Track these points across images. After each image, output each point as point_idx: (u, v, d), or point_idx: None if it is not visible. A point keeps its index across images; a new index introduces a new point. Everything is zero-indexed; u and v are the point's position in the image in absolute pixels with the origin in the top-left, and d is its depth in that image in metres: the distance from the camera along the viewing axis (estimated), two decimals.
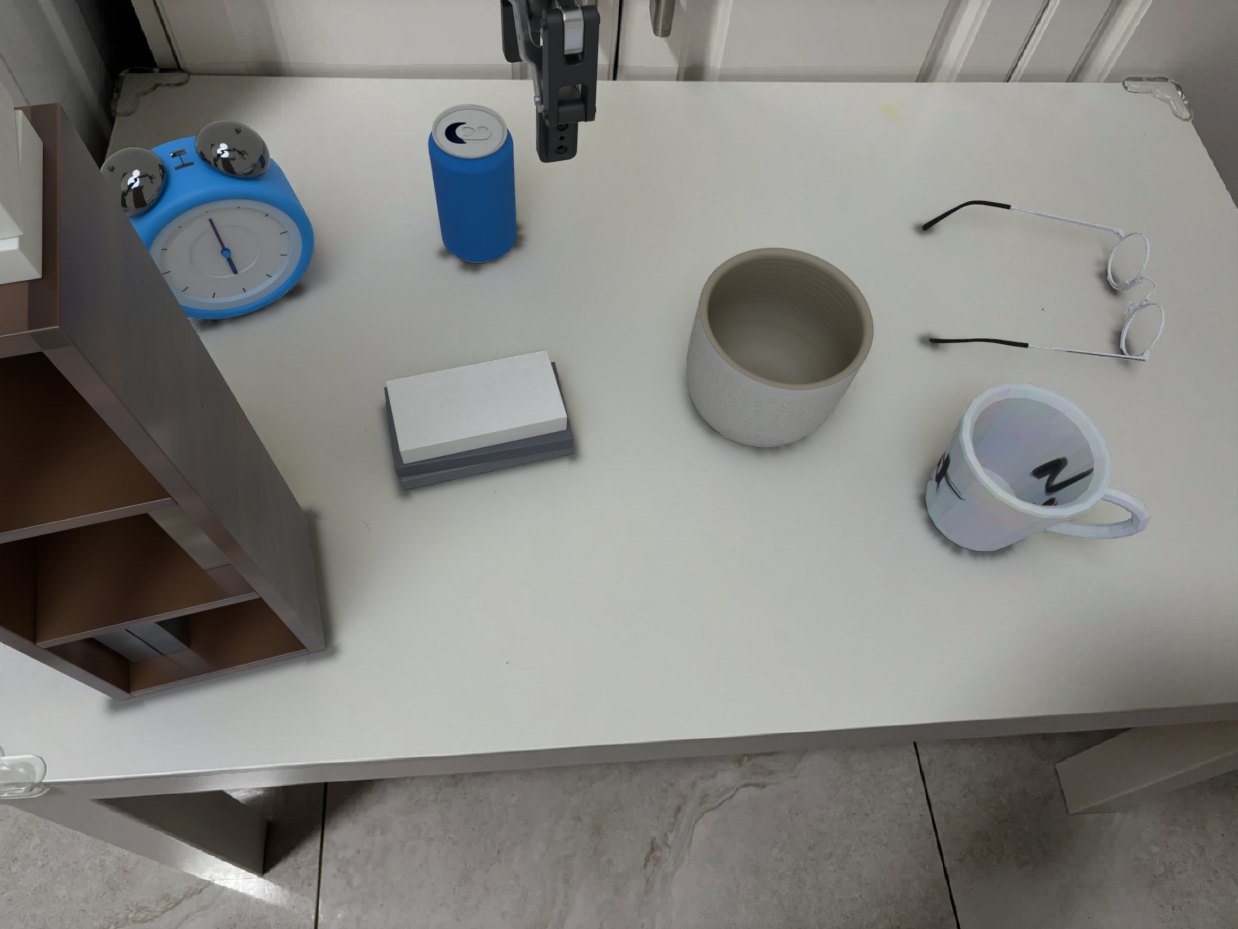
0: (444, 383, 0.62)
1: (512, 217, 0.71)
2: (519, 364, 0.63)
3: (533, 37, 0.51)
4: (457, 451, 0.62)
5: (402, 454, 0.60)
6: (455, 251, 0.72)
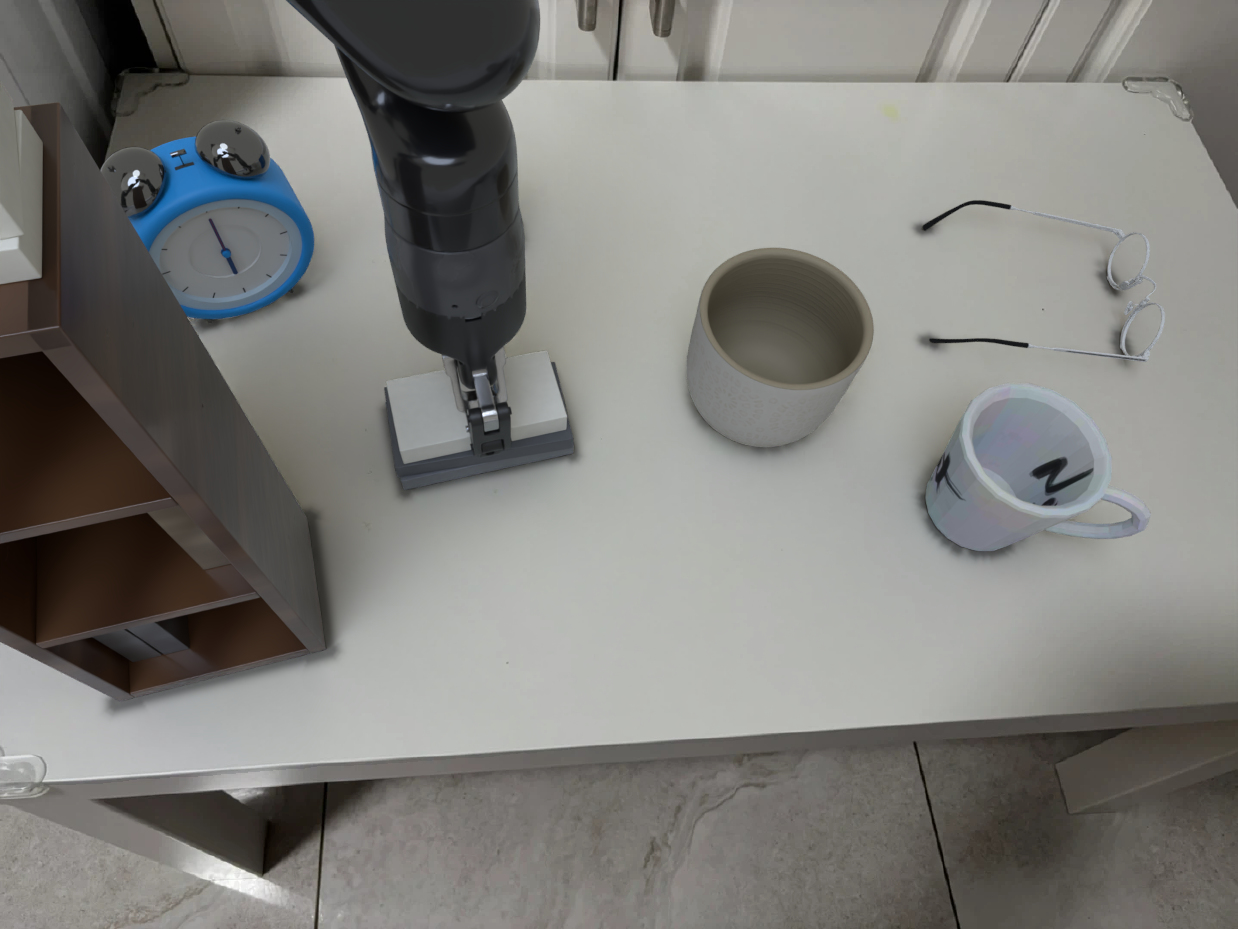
0: (444, 383, 0.62)
1: None
2: (519, 364, 0.63)
3: None
4: (457, 451, 0.62)
5: (402, 454, 0.60)
6: None
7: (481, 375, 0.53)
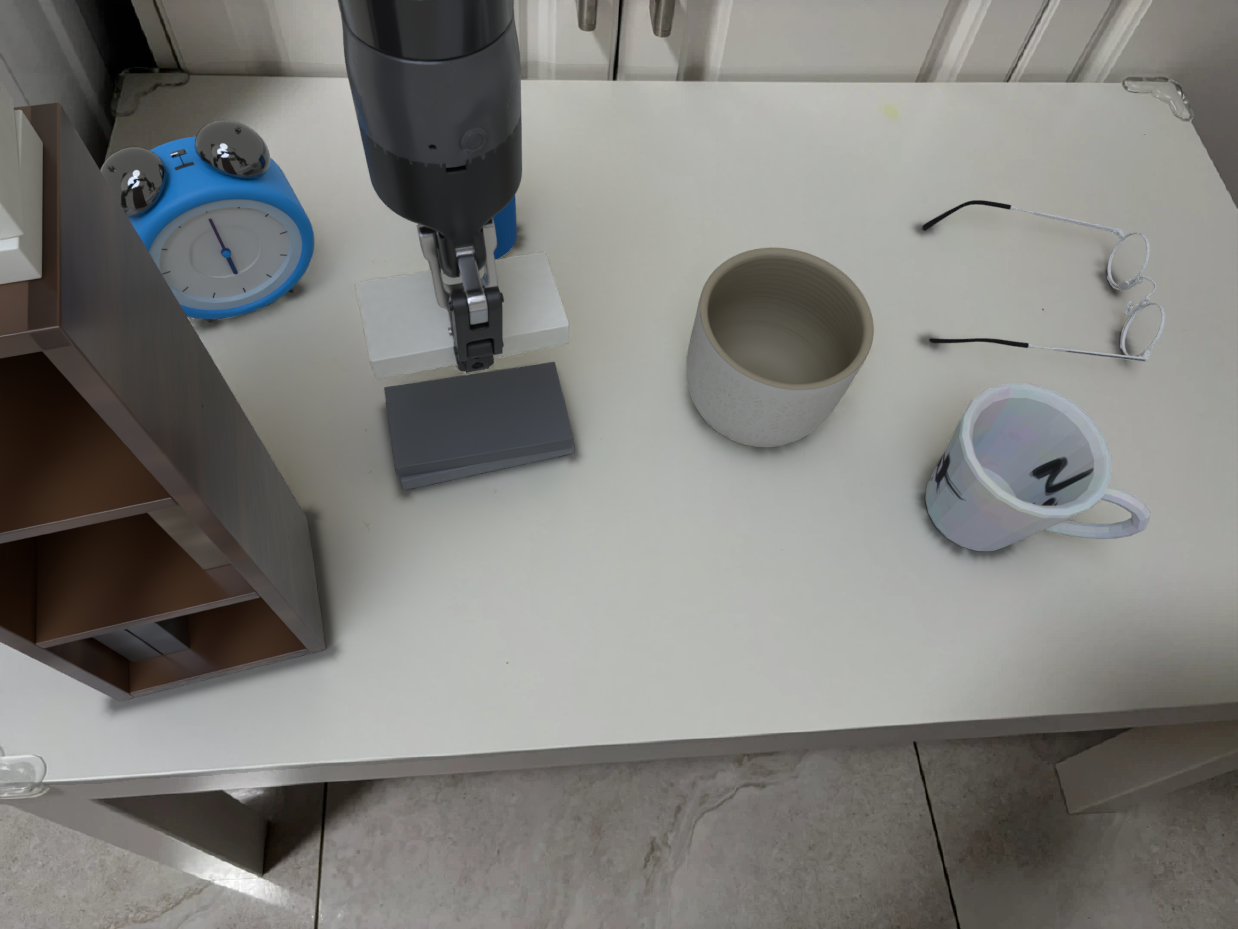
0: (424, 286, 0.53)
1: (512, 217, 0.71)
2: (512, 266, 0.54)
3: None
4: (439, 366, 0.52)
5: (373, 366, 0.50)
6: None
7: (466, 254, 0.43)
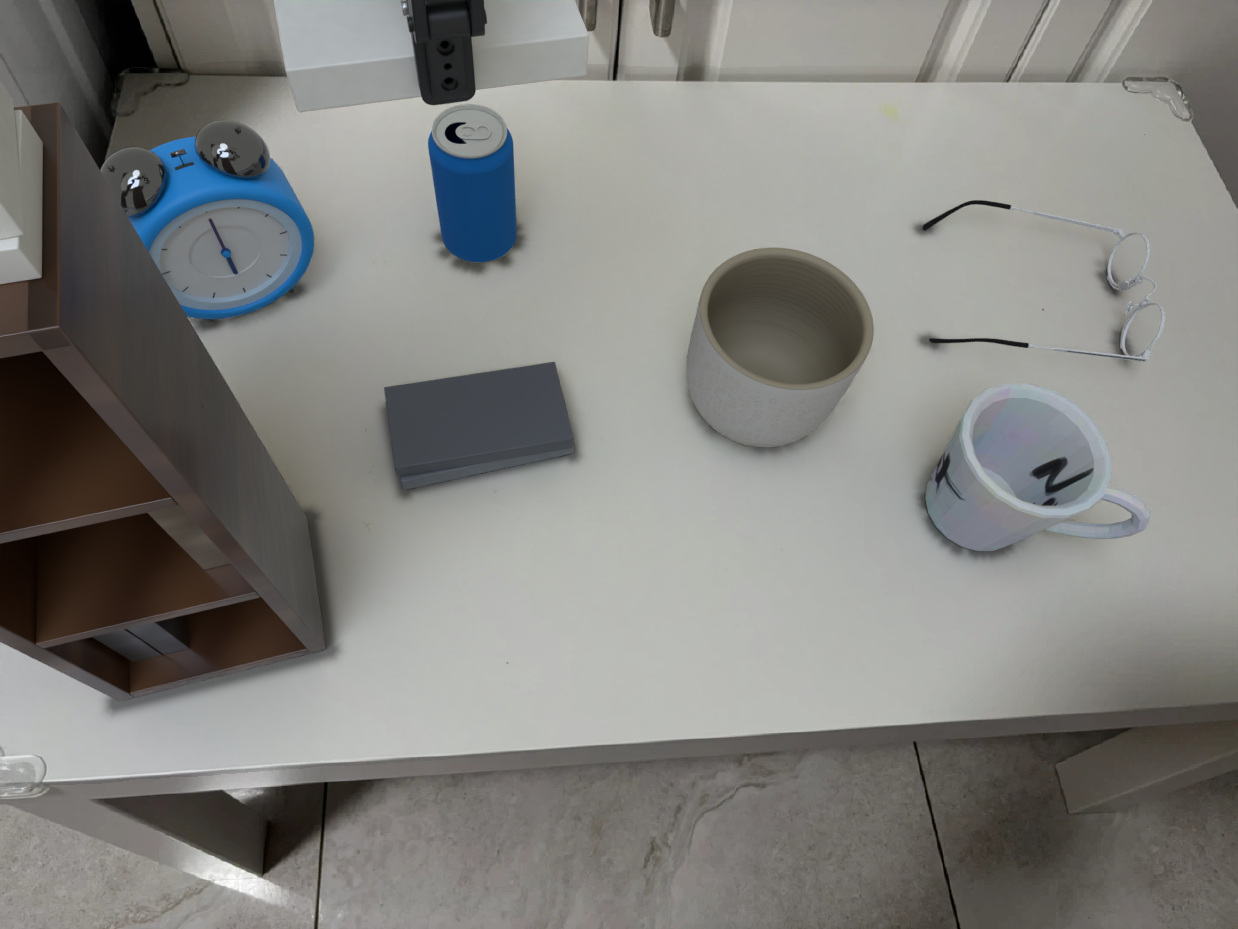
0: None
1: (512, 217, 0.71)
2: None
3: None
4: (394, 95, 0.35)
5: (291, 80, 0.33)
6: (455, 251, 0.72)
7: None
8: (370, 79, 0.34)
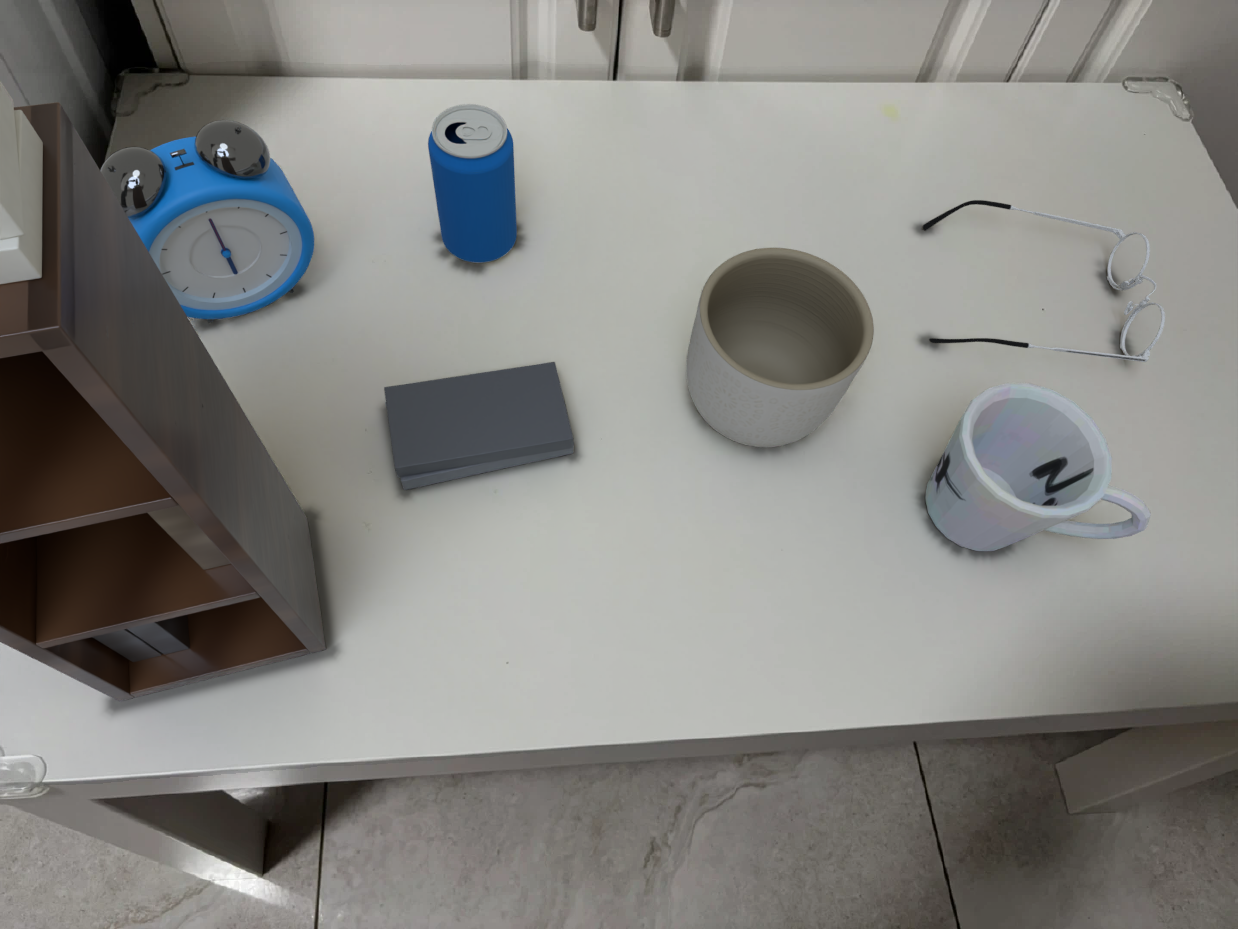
0: None
1: (512, 217, 0.71)
2: None
3: None
4: None
5: None
6: (455, 251, 0.72)
7: None
8: None
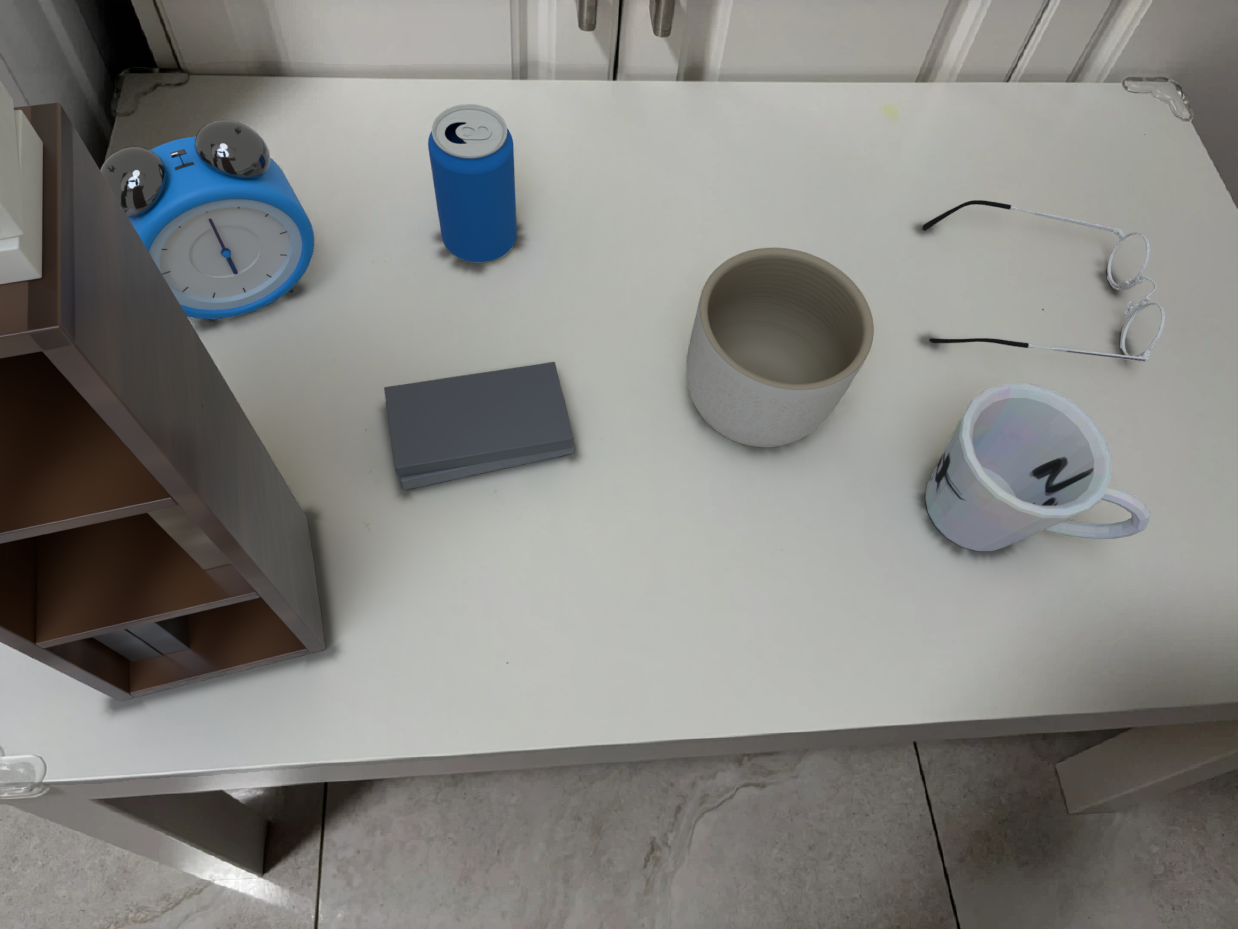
0: None
1: (512, 217, 0.71)
2: None
3: None
4: None
5: None
6: (455, 251, 0.72)
7: None
8: None
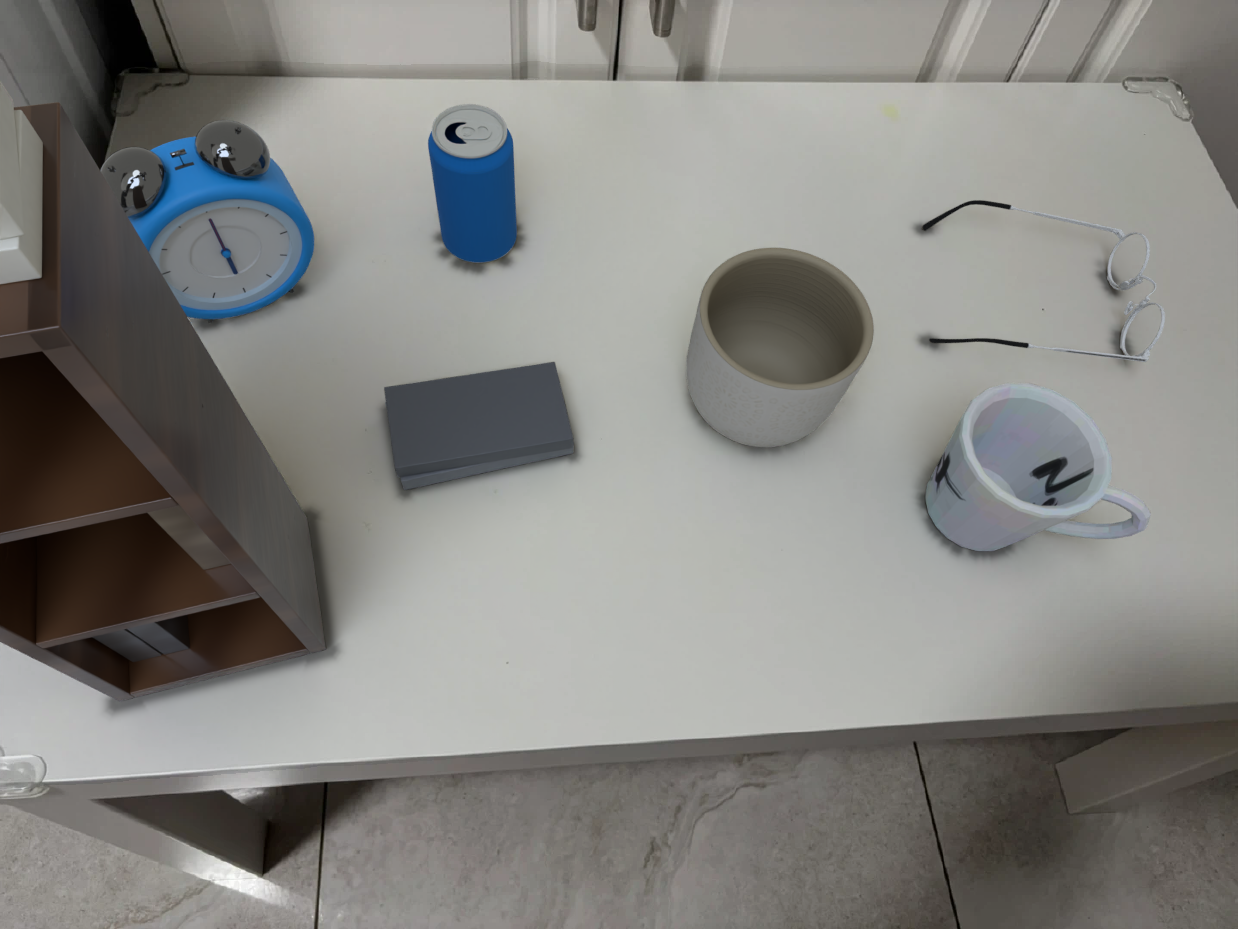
0: None
1: (512, 217, 0.71)
2: None
3: None
4: None
5: None
6: (455, 251, 0.72)
7: None
8: None
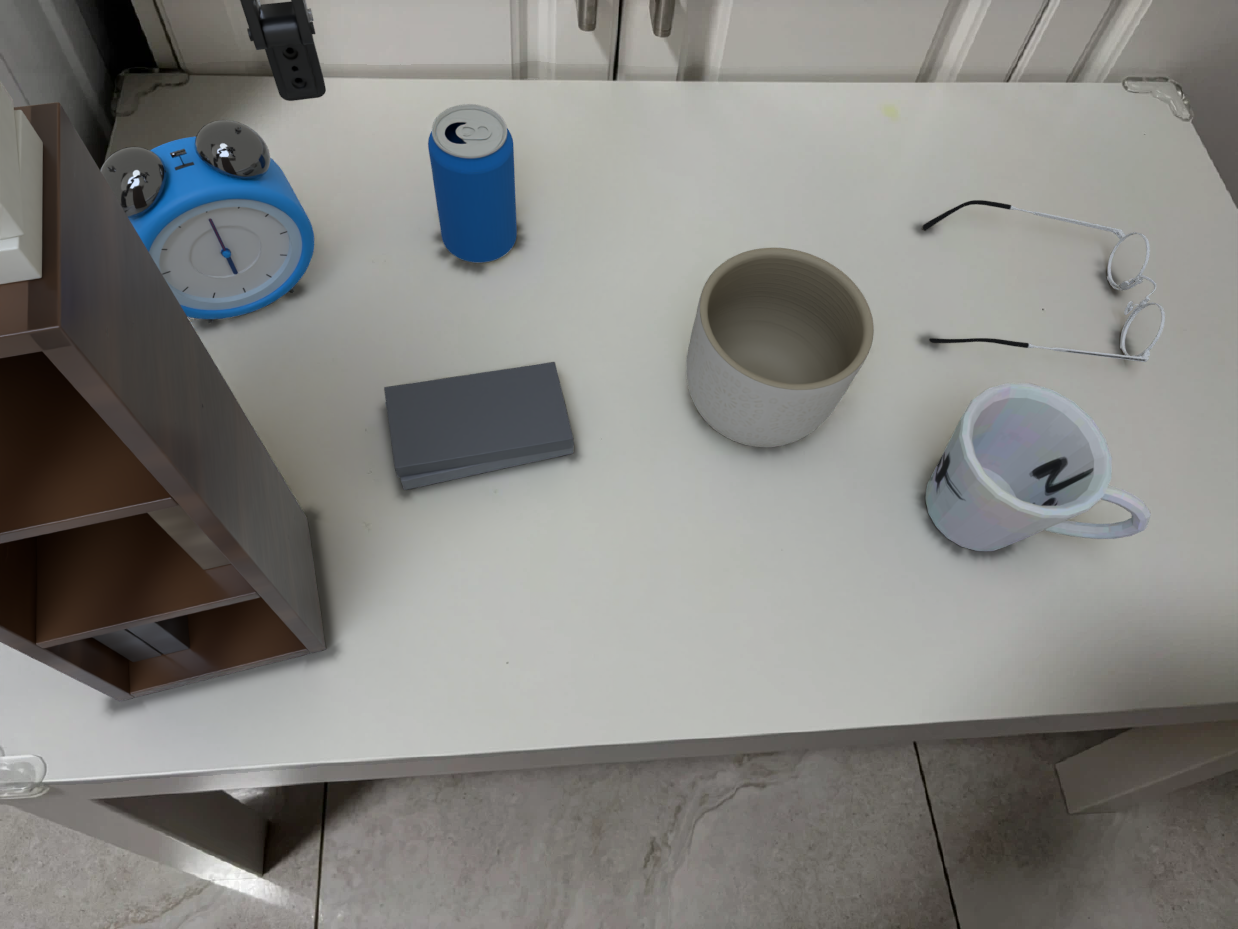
0: None
1: (512, 217, 0.71)
2: None
3: None
4: None
5: None
6: (455, 251, 0.72)
7: None
8: None
